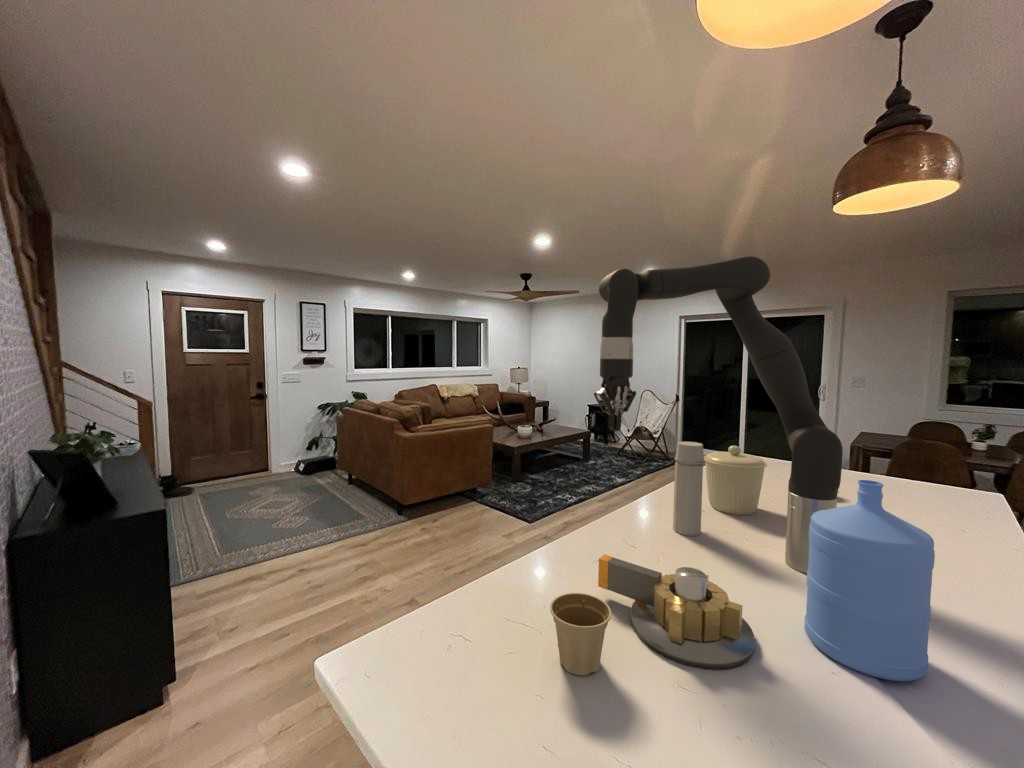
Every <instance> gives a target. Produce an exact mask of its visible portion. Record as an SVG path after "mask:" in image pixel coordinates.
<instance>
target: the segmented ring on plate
mask: <svg viewBox="0 0 1024 768" xmlns="http://www.w3.org/2000/svg"><path fill="white" fill-rule="evenodd" d="M706 576H707V582H706V602H701V603H697V602H691V601H686V600H683V599H681V598H679V597H677V596H675V582H676V573H673V574H672V573H671V574H664V575H663V572H660V571H657V570H653V569H650V568H647V567H644V566H641V565H638V564H635V563H632V562H629V561H625V560H622V559H619V558H615V557H614V556H611V555H608V554H603V555H602V556H600V557H599V558H598V579H597V581H598V582H597V586H598V587H599V588H601V589H604V590H607V591H609V592H610V591H611V592H612V593H616V594H618V595H621V596H623V597H627V598H630V599H632V600H634V601H635V600H637V601H639V602H642V603H645V604H647V605H650V606H653V607H654V616H655V619H656V620H657V621H658V622H659V623H660V624H661V626H662V627H665V629H666V630H668V631H669V639H670V640H672V641H674V642H677V643H679V644H682V642H683V640H684V639H685V638H687V639H692V640H697V641H701V639H702V640H703V641H704V642H705V641H713V640H719V638H721V639H722V638H723V637H724V636H728V637H731V638H733V639H736V640H739V639H740V636H741V629H742V618H743V605H742V604H740V603H737V602H733V601H731V600H730V599H729V596H728V593H726V592H727V591H725V590H724V589H722V588H721V587H720V586H719V585H717V583H715V584H714V582H712V581H710V580H709V575H708V574H706Z"/></svg>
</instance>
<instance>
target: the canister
mask: <svg viewBox="0 0 1024 768" xmlns="http://www.w3.org/2000/svg"><path fill="white" fill-rule="evenodd" d="M727 449H728V451H713V452H710V453H708V454H707V455H704V462H705V464H704V465H705V475H706V487H707V495H708V496H707V497H708V502H709V504H710V506H711V507H712V508H713V509H714V508H715V509H714V510H715V511H719V512H720V513H724V514H727V515H728V514H729V515H735V516H751V515H753V514H755V512H756V511H757V509H758V507H759V501H760V496H761V491H762V487H763V486H762V484H763V479H764V474H765V473H764V472H765V468H766V467H767V466H768V463H767V462H766V461H764V460H763V459H762V458H760V457H758V456H755V455H753V454H748V453H744V452H742V449H741V447H739V446H737V445H730V446H729V447H728V448H727Z"/></svg>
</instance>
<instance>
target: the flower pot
mask: <svg viewBox="0 0 1024 768" xmlns="http://www.w3.org/2000/svg"><path fill="white" fill-rule="evenodd" d="M549 609H550V613H551V616H552V618H553V621H554V624H555V630H556V640H557V647H558V656H559V662H560V664H561V665H562V666H563V668H564V669H565V671H567V672H568V673H571V674H572V675H576V676H588V675H589V674H592V673H596V672H597V671H598V670H599V668H600V666H601V659H602V652H603V646H604V638H605V633H606V629H607V627H608V624H609V622H610V620H611V618H612V610H611V607H610V606H609V604H608V603H607V602H605V601H604V600H603V599H602V598H599V597H597V596H596V595H592V594H589V593H584V592H583V593H582V592H568V593H564V594H560V595H558V596H557V597H555V598H554V599H552V601H551V602H550V606H549Z"/></svg>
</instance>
